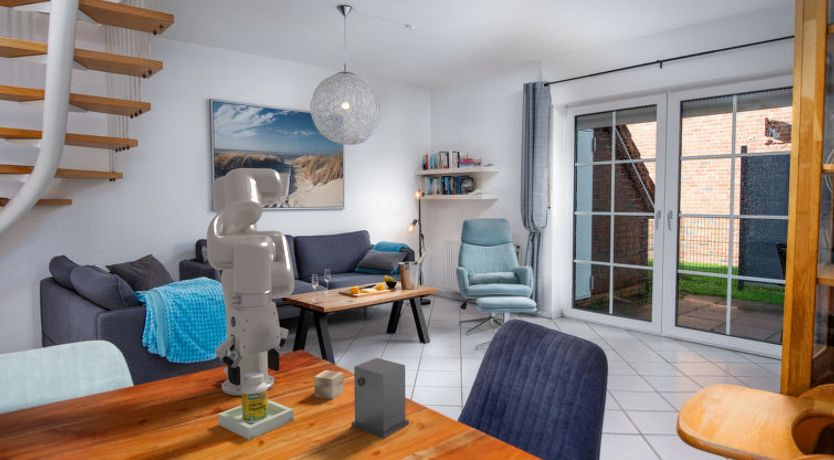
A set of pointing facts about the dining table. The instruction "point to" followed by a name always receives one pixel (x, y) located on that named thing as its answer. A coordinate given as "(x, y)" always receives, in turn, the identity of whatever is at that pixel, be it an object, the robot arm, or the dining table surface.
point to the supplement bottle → (254, 398)
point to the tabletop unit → (379, 397)
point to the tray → (249, 431)
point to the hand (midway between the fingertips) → (254, 376)
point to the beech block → (328, 384)
